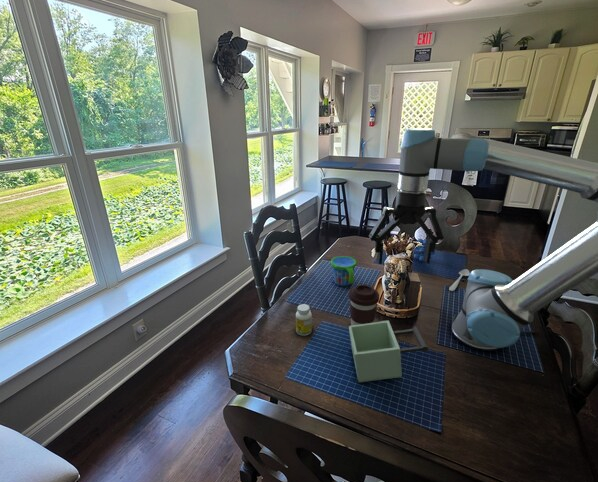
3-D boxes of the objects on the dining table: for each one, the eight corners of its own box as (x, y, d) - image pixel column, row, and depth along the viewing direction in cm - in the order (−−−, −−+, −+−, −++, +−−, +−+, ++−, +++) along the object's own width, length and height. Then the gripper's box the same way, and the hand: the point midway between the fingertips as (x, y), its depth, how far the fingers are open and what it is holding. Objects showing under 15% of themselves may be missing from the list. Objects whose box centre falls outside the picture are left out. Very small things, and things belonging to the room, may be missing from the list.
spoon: (471, 273, 144) (472, 270, 143) (455, 292, 130) (456, 289, 129) (461, 270, 146) (462, 267, 146) (445, 289, 132) (446, 285, 131)
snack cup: (325, 275, 145) (326, 254, 141) (347, 272, 147) (348, 252, 143) (336, 293, 130) (337, 271, 127) (361, 290, 133) (362, 268, 129)
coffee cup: (376, 338, 105) (380, 299, 100) (346, 334, 107) (348, 296, 101) (376, 319, 114) (379, 283, 109) (348, 316, 116) (349, 280, 110)
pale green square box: (416, 343, 98) (415, 316, 95) (431, 373, 87) (430, 344, 84) (352, 351, 100) (348, 325, 96) (358, 382, 89) (354, 354, 85)
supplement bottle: (314, 333, 108) (314, 309, 104) (300, 338, 106) (299, 314, 102) (307, 324, 113) (307, 301, 109) (293, 328, 110) (292, 305, 107)
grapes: (436, 261, 155) (440, 238, 150) (430, 266, 150) (434, 243, 146) (413, 254, 162) (416, 232, 158) (407, 259, 158) (410, 236, 153)
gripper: (452, 186, 88) (440, 255, 96) (362, 187, 88) (357, 256, 97) (465, 193, 81) (451, 267, 89) (367, 194, 82) (362, 268, 90)
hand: (402, 261), depth 93 cm, fingers open, 13 cm apart
